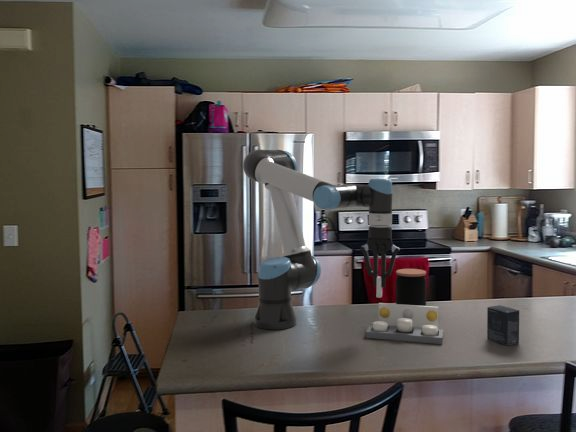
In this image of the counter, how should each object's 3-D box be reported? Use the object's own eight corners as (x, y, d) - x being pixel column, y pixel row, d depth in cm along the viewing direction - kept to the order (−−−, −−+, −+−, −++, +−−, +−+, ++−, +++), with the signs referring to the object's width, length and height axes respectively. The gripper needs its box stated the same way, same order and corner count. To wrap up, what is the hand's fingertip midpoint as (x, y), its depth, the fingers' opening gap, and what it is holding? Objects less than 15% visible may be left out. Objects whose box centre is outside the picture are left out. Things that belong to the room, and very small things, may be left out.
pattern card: (378, 326, 182) (378, 303, 181) (379, 325, 183) (379, 302, 182) (437, 330, 175) (438, 307, 174) (438, 329, 176) (438, 306, 176)
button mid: (396, 331, 168) (396, 321, 168) (398, 327, 173) (398, 317, 172) (411, 332, 167) (411, 322, 166) (412, 328, 171) (413, 318, 171)
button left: (371, 334, 171) (371, 324, 171) (374, 329, 175) (374, 320, 175) (386, 335, 169) (386, 325, 169) (388, 331, 174) (388, 321, 174)
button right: (421, 338, 166) (421, 328, 165) (422, 333, 170) (422, 324, 170) (437, 339, 164) (437, 329, 164) (438, 335, 169) (438, 325, 168)
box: (519, 343, 162) (520, 310, 161) (506, 346, 159) (506, 312, 158) (499, 336, 169) (499, 304, 168) (486, 339, 166) (486, 306, 165)
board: (365, 337, 169) (365, 331, 169) (370, 329, 178) (370, 323, 178) (442, 344, 162) (442, 337, 162) (443, 335, 170) (443, 329, 170)
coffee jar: (423, 316, 193) (423, 268, 192) (428, 324, 183) (428, 274, 181) (394, 315, 194) (394, 268, 193) (397, 324, 184) (397, 274, 182)
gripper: (358, 226, 168) (357, 297, 170) (398, 227, 164) (397, 300, 166) (362, 224, 175) (361, 292, 177) (401, 225, 171) (400, 295, 173)
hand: (379, 296), depth 172 cm, fingers closed
